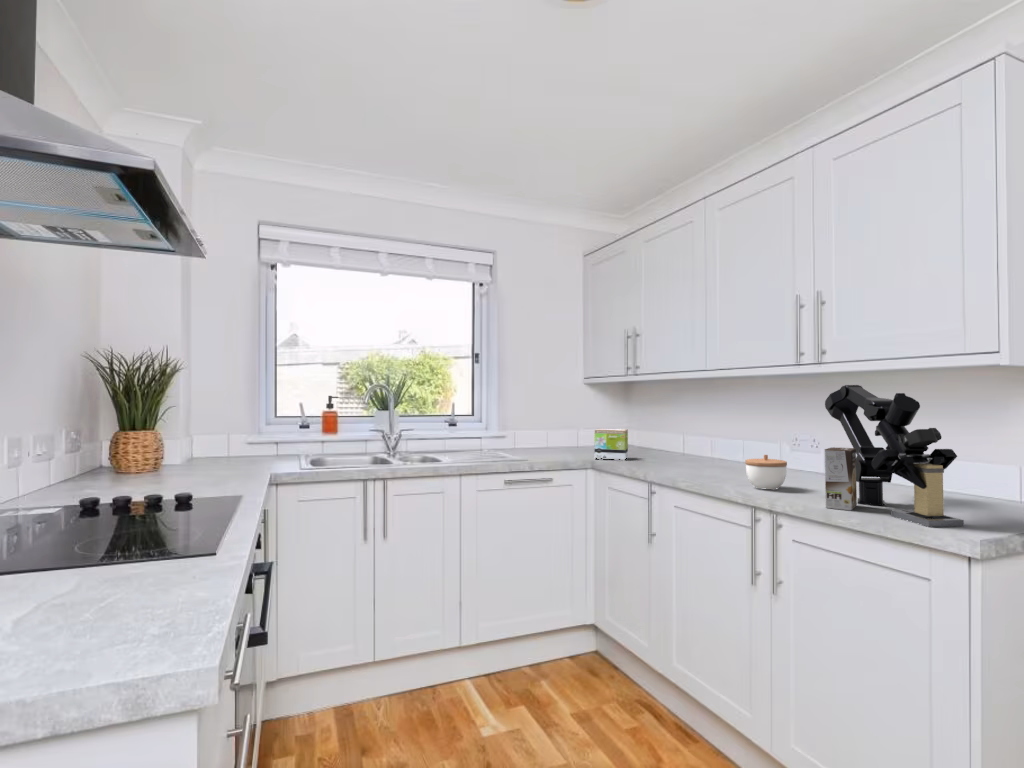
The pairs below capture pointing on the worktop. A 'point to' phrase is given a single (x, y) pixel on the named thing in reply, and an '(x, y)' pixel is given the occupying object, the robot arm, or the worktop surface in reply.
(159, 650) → the worktop surface
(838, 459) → the coffee box
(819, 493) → the worktop surface
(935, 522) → the rail plate
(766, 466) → the lidded bowl
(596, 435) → the tea box
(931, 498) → the post
